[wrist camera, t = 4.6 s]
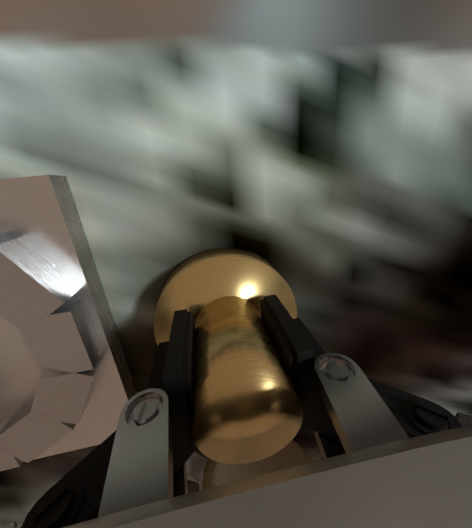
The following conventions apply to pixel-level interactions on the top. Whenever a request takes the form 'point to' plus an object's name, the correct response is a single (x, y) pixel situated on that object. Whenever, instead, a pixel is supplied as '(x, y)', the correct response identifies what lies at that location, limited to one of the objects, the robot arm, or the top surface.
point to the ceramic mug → (241, 466)
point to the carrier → (53, 329)
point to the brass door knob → (233, 354)
